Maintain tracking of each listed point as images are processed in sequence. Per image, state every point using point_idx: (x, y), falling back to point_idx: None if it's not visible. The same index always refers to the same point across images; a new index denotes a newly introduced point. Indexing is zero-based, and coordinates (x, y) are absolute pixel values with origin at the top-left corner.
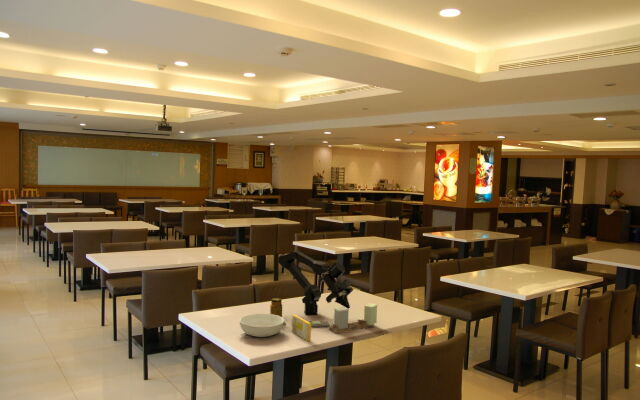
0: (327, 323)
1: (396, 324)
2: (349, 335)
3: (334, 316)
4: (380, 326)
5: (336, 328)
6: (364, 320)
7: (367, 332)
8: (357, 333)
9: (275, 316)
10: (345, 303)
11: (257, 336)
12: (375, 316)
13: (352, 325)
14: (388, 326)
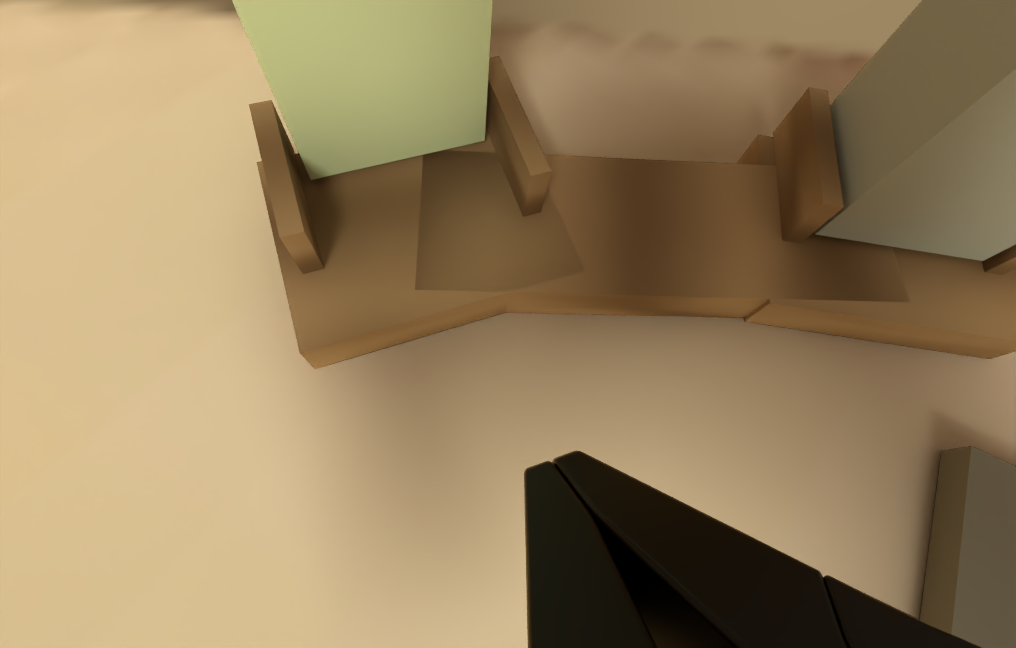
0: (987, 548)
1: (7, 39)
2: (818, 80)
3: None
4: (261, 94)
5: None
6: (485, 96)
7: (575, 42)
8: (700, 76)
9: None
10: (770, 575)
11: None
12: None
13: (672, 198)
14: (176, 44)
